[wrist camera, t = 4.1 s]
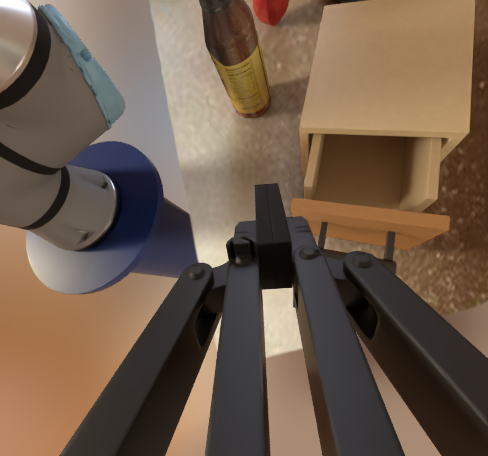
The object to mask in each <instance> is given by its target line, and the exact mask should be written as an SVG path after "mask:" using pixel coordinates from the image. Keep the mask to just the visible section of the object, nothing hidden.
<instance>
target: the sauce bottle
mask: <svg viewBox="0 0 488 456" xmlns="http://www.w3.org/2000/svg"><path fill="white" fill-rule="evenodd" d="M199 2H200V5H201V7H202V15H203V25H204V35H205V43H206V46H207V49H208V51H209V53H210V56H211V58H212V60H213V62H214V64H215V67H216V69H217V71H218V73H219V75H220V78H221V80H222V82H223V85H224V87H225V89H226V91H227V93H228V96H229V98H230V100H231V102H232V105H233V107H234V108H235V109H236V111H237V113H239V114H240V115H241V116H243V117H246V118H254V117H256V116H259V115H261V114H263V113H264V112H265V111H266V109H267V108H268V106H269V104H270V102H271V97H270V87H269V83H268V78H267V73H266V69H265V65H264V60H263V56H262V51H261V47H260V42H259V38H258V34H257V31H256V29H255V24H254V20H253V15H252V12H251V10H250V8H249V6H248V5H247V4H246V2H245V1H244V0H199Z"/></svg>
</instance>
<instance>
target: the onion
mask: <svg viewBox="0 0 488 456" xmlns="http://www.w3.org/2000/svg"><path fill="white" fill-rule="evenodd" d="M288 2H289V0H253V7H254V11H255V14H256V16H257V17H258V19H259V20H260V21H261V22H263V23H265V24H269V25H271V26H275V25H276V24H277V23H278V22H279V20H280V19H281V18H282V17H283V15H284V14H285V12H286V10H287V7H288Z"/></svg>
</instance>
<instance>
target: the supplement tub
mask: <svg viewBox="0 0 488 456" xmlns="http://www.w3.org/2000/svg"><path fill="white" fill-rule="evenodd" d="M337 1H340V2H345V3H350V2H358V1H366V0H337Z"/></svg>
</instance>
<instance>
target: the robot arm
mask: <svg viewBox="0 0 488 456" xmlns="http://www.w3.org/2000/svg"><path fill="white" fill-rule="evenodd" d="M124 110H125V100H124V98H123V96H122V95H121V93H120V92H119V90H118V89H117V88H116V86H115V85H114V83H113V82H112V81H111V79H110V78H109V77H108V75H107V74H106V73H105V71H104V70H103V69H102V67H101V66H100V65H99V64H98V62H97V61H96V60H95V58H94V57H93V56H92V55H91V53H90V52H89V50H88V49H87V48H86V47H85V45H84V44H83V43H82V41H81V40H80V38H79V37H78V36H77V34H76V33H75V32H74V31H73V29H72V28H71V27H70V25H69V24H68V23H67V21H66V20H65V19H64V18H63V16H62V15H61V14H60V13H59V11H58V10H57V9H56V8H55V7H54V6H53V5H50V4H47V5H45V6H42V5H41V6H39V7H38V10H37V9H36V8H35V7H34V6H33V5H32V4H31V3H30V2H29V1H28V0H0V224H2V225H8V226H12V227H17V228H21V229H25V230H29V231H31V232H33V233H35V234H36V235H38V236H40V237H42V238H43V239H45V240H47V241H49V242H50V243H52V244H54V245H55V246H57V247H59V248H61V249H65V250H70V251H77V252H80V251H86V250H89V249H92V248H94V247H96V246H97V245H99V244H100V243H101V242H102V241H104V240H105V239H106V238H107V237H108V235H109V234H110V233H111V232H112V230H113V229H114V227H115V225H116V223H117V221H118V218H119V216H120V212H121V206H122V196H121V191H120V188H119V186H118V185H117V183H116V182H115V181H114V180H113V179H112V178H110V177H109V176H107V175H105V174H104V173H102V172H100V171H96V170H91V169H87V168H82V167H77V166H72V165H67V163H68V162H70V161H71V160H72V159H73V158H74V157H76V156H77V155H78V154H79V153H80V152H82V151H83V150H84V149H85V148H86V147H88V146H89V145H90V144H91V143H92V142H94V141H95V140H96V139H97V138H98V137H99V136H101V135H102V134H103V133H104V132H105V131H107V130H109V129H110V128H111V125H112V124H113V123H114V122H115V121H116V120H117V119H118V118H119V117H120V116H121V115H122V114H123V112H124ZM255 206H256V221H245V222H239V223H238V224H237V226H236V227H235V234H234V237H233V238H231V239H230V240H229V241H228V242H227V244H226V248H227V253H228V258H229V261H228V262H227V263H225V264H223V265H221V266H218V267H215V268H212V267H211V266H210V265H209V264H206V263H196V264H193V265H191V266H189V267H187V268H186V269H185V270H184V272H183V273H182V274H181V276H180V277H179V279H178V280H177V282H176V283H175V285H174V286H173V288H172V289H171V291H170V292H169V294H168V295H167V297H166V298H165V300H164V301H163V303H162V304H161V306H160V307H159V309H158V310H157V312H156V313H155V315H154V316H153V317H152V319H151V320H150V322H149V323H148V325H147V327H146V328H145V329H144V331H143V332H142V334H141V335H140V337H139V338H138V340H137V341H136V343H135V344H134V346H133V347H132V349H131V350H130V352H129V353H128V355H127V356H126V358H125V359H124V360H123V362H122V364H121V365H120V366H119V368H118V370H117V371H116V372H115V374H114V375H113V377H112V378H111V380H110V381H109V383H108V384H107V386H106V387H105V389H104V390H103V392H102V393H101V395H100V396H99V398H98V399H97V401H96V402H95V404H94V405H93V406H92V408H91V409H90V411H89V412H88V414H87V416H86V417H85V418H84V420H83V422H82V423H81V424H80V426H79V428H78V429H77V430H76V432H75V433H74V435H73V436H72V438H71V439H70V441H69V442H68V444H67V445H66V446H65V448H64V450H63V451H62V452H61V454H60V455H59V456H165V454H166V452H167V449H168V447H169V444H170V442H171V440H172V437H173V434H174V432H175V430H176V427H177V424H178V422H179V419H180V417H181V415H182V412H183V410H184V407H185V405H186V402H187V400H188V397H189V395H190V392H191V390H192V387H193V385H194V383H195V380H196V378H197V375H198V373H199V370H200V368H201V365H202V362H203V360H204V358H205V355H206V353H207V350H208V348H209V345H210V343H211V340H212V338H213V335H214V333H215V330H216V328H217V326H218V323H219V321H220V318H221V316H222V319H221V327H220V336H219V344H218V352H217V360H216V369H215V377H214V385H213V393H212V401H211V410H210V419H209V426H208V434H207V442H206V450H205V456H270V438H269V420H268V400H267V399H268V398H267V379H266V358H265V338H264V319H263V299H262V289H279V288H292V284H293V307H295V308H296V313H297V319H298V324H299V330H300V335H301V341H302V346H303V352H304V357H305V362H306V368H307V373H308V379H309V384H310V390H311V395H312V401H313V406H314V411H315V417H316V422H317V428H318V433H319V439H320V444H321V449H322V455H323V456H405V454H404V452H403V449H402V447H401V444H400V442H399V439H398V437H397V434H396V432H395V429H394V427H393V424H392V422H391V419H390V417H389V415H388V412H387V409H386V407H385V404H384V402H383V399H382V397H381V394H380V392H379V390H378V387H377V384H376V382H375V379H374V377H373V374H372V372H371V369H370V367H369V364H368V362H367V359H366V357H365V354H364V352H363V349H362V347H361V344H360V342H359V339H358V337H357V334H358V335H359V337H360V338H361V340H362V341H363V343H364V344H365V346H366V347H367V348H368V350H369V351H370V353H371V354H372V355H373V357H374V359H375V360H376V361H377V363H378V364H379V366H380V367H381V369H382V370H383V372H384V373H385V374H386V376H387V377H388V379H389V380H390V382H391V383H392V384H393V386H394V388H395V389H396V390H397V392H398V393H399V395H400V396H401V397H402V399H403V401H404V402H405V403H406V405H407V406H408V408H409V409H410V411H411V412H412V413H413V415H414V416H415V418H416V419H417V421H418V422H419V424H420V425H421V427H422V428H423V430H424V431H425V432H426V434H427V435H428V437H429V438H430V440H431V441H432V443H433V444H434V445H435V447H436V448H437V450H438V451H439V453H440V454H441V455H442V456H488V358H487V357H485V356H484V355H483V354H482V353H481V352H480V351H479V350H478V349H477V348H476V347H475V346H473V345H472V344H471V343H470V342H469V341H468V340H467V339H466V338H465V337H463V336H462V335H461V334H460V333H459V332H458V331H457V330H456V329H455V328H454V327H452V326H451V325H450V324H449V323H448V322H447V321H446V320H444V318H443V317H441V316H440V315H439V314H438V313H437V312H436V311H435V310H434V309H433V308H432V307H430V306H429V305H428V304H427V303H426V302H425V301H424V300H423V299H422V298H420V297H419V296H418V295H417V294H416V293H415V292H414V291H413V290H412V289H411V288H409V287H408V286H407V285H406V284H405V283H404V282H403V281H402V280H401V279H400V278H398V277H397V276H396V275H395V274H394V273H393V272H392V271H391V270H390V269H388V268H387V267H386V266H385V265H384V264H383V263H382V262H381V261H380V260H379V259H377V258H376V257H375V256H373V255H372V254H369V253H366V252H362V251H354V252H350V253H348V254H347V255H346V256H345V257H344V259H341V258H334V257H330V256H327V255H325V254H324V252H323V251H322V250H321V249H320V248H318V247H317V245H316V242H315V239H314V237H313V234H312V232H311V229H310V227H309V224H308V221H307V220H306V219H305V218H304V217H302V216H297V217H286V215H285V211H284V207H283V203H282V199H281V194H280V190H279V186H278V183H274V184H263V185H255ZM355 331H356V332H357V334H356V332H355Z"/></svg>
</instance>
